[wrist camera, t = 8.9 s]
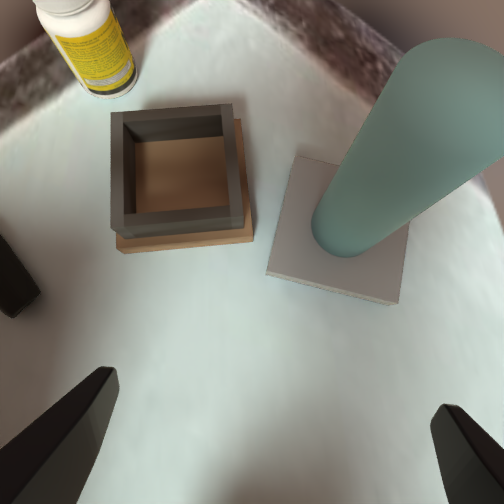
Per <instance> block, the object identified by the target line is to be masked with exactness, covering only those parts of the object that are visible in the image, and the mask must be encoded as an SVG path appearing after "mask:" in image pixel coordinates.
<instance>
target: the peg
mask: <svg viewBox="0 0 504 504" xmlns="http://www.w3.org/2000/svg"><path fill="white" fill-rule="evenodd" d="M503 156H504V56H503V55H502V54H500V53H499V52H497V51H496V50H494V49H492V48H490V47H488V46H486V45H483V44H481V43H478V42H475V41H471V40H467V39H461V38H439V39H434V40H430V41H427V42H424V43H422V44H419V45H417V46H415V47H414V48H412V49H411V50H409V51H408V52H407V53H406V54H405V55H404V56H403V57H402V58H401V59H400V61H399V62H398V64H397V66H396V67H395V69H394V71H393V73H392V74H391V76H390V78H389V80H388V82H387V83H386V85H385V87H384V89H383V90H382V92H381V94H380V96H379V97H378V99H377V101H376V103H375V105H374V106H373V108H372V110H371V112H370V113H369V115H368V117H367V119H366V121H365V122H364V124H363V126H362V128H361V129H360V131H359V133H358V135H357V137H356V138H355V140H354V142H353V144H352V145H351V147H350V149H349V151H348V152H347V154H346V156H345V158H344V160H343V161H342V163H341V165H340V167H339V168H338V170H337V172H336V174H335V176H334V177H333V179H332V181H331V183H330V184H329V186H328V188H327V190H326V192H325V193H324V195H323V197H322V199H321V200H320V202H319V204H318V206H317V207H316V209H315V211H314V213H313V216H312V220H311V228H312V233H313V236H314V238H315V240H316V241H317V243H318V244H319V245H320V247H322V248H323V249H324V250H325V251H326V252H328V253H330V254H332V255H334V256H338V257H344V258H348V257H354V256H358V255H360V254H362V253H364V252H365V251H366V250H368V249H369V248H371V247H372V246H374V245H375V244H377V243H378V242H380V241H381V240H382V239H384V238H385V237H387V236H388V235H390V234H391V233H393V232H394V231H396V230H397V229H398V228H400V227H401V226H403V225H404V224H406V223H407V222H409V221H410V220H412V219H413V218H414V217H416V216H417V215H419V214H420V213H422V212H423V211H425V210H426V209H428V208H429V207H430V206H432V205H433V204H435V203H436V202H438V201H439V200H441V199H442V198H443V197H445V196H446V195H448V194H449V193H451V192H452V191H454V190H455V189H457V188H458V187H459V186H461V185H462V184H464V183H465V182H467V181H468V180H470V179H471V178H473V177H474V176H475V175H477V174H478V173H480V172H481V171H483V170H484V169H486V168H487V167H488V166H490V165H491V164H493V163H494V162H496V161H497V160H499V159H500V158H502V157H503Z"/></svg>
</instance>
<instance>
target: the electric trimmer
mask: <svg viewBox="0 0 504 504" xmlns="http://www.w3.org/2000/svg"><path fill="white" fill-rule="evenodd" d="M40 293H41V291H40V290H39V288H38V286H37V285H36V283H35V282H34V280H33V279H32V277H31V276H30V274H29V273H28V271H27V270H26V269H25V267H24V266H23V265H22V263H21V262H20V260H19V259H18V258H17V256H16V255H15V253H14V252H13V251H12V249H11V248H10V247H9V245H8V244H7V242H6V241H5V240H4V239H3V237H2V236H1V235H0V310H1V311H2V312H3V313H4V314H5V315H7V316H8V317H10V318H15V317H16V316H17V315H18V314H19V313H20V312H22V311H23V310H24V309H25V308H26V307H27V306H28V305H29V304H30V303H31V302H32V301H33V300H34V299H35V298H36V297H38V296H39V295H40Z"/></svg>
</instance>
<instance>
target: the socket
mask: <svg viewBox="0 0 504 504" xmlns="http://www.w3.org/2000/svg"><path fill="white" fill-rule="evenodd" d="M111 229H113V230H114V231H115V232H116V249H118V250H119V251H121V252H122V253H124V254H127V253H138V252H149V251H159V250H170V249H181V248H191V247H202V246H213V245H223V244H234V243H244V242H253V229H252V220H251V211H250V202H249V193H248V183H247V174H246V165H245V156H244V147H243V137H242V128H241V119H234V118H233V108H232V104H219V105H206V106H192V107H179V108H166V109H152V110H139V111H125V112H112V113H111Z"/></svg>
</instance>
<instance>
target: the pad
mask: <svg viewBox="0 0 504 504" xmlns="http://www.w3.org/2000/svg"><path fill="white" fill-rule="evenodd" d="M339 167H340V166H338V165H334V164H330V163H325V162H321V161H317V160H313V159H308V158H304V157H300V156H296V155H295V158H294V161H293V165H292V169H291V173H290V177H289V181H288V185H287V189H286V194H285V198H284V202H283V206H282V210H281V214H280V218H279V222H278V226H277V230H276V234H275V239H274V243H273V247H272V251H271V255H270V259H269V263H268V267H267V271H266V275H269V276H273V277H277V278H281V279H285V280H289V281H293V282H297V283H301V284H305V285H309V286H313V287H317V288H321V289H325V290H329V291H333V292H337V293H341V294H345V295H349V296H353V297H357V298H361V299H365V300H369V301H373V302H377V303H381V304H385V305H394V304H398V301H399V294H400V287H401V280H402V272H403V265H404V258H405V251H406V244H407V237H408V229H409V222H410V221H409V222H407V223H406V224H404V225H403V226H401V227H400V228H398V229H397V230H396V231H394V232H393V233H391V234H390V235H388V236H387V237H385V238H384V239H382V240H381V241H380V242H378V243H377V244H375V245H374V246H372V247H371V248H369V249H368V250H366V251H365V252H364V253H362V254H360V255H358V256H354V257H348V258H344V257H338V256H334V255H332V254H330V253H328V252H326V251H325V250H324V249H323V248H322V247H320V245H319V244H318V243H317V241H316V240H315V238H314V236H313V233H312V228H311V220H312V216H313V213H314V211H315V209H316V207H317V206H318V204H319V202H320V200H321V199H322V197H323V195H324V193H325V192H326V190H327V188H328V186H329V184H330V183H331V181H332V179H333V177H334V176H335V174H336V172H337V170H338V168H339Z"/></svg>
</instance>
